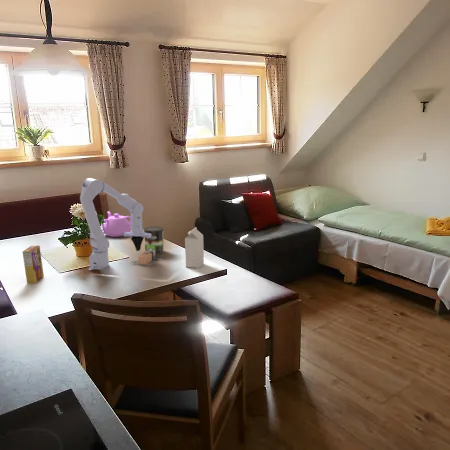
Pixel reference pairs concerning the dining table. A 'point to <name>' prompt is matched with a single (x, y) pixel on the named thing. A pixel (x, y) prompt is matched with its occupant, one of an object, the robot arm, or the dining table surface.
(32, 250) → the candy box
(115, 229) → the teapot
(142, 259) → the cover
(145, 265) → the board
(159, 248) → the coffee can
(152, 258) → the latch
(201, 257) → the milk carton
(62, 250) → the dining table surface
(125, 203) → the robot arm
